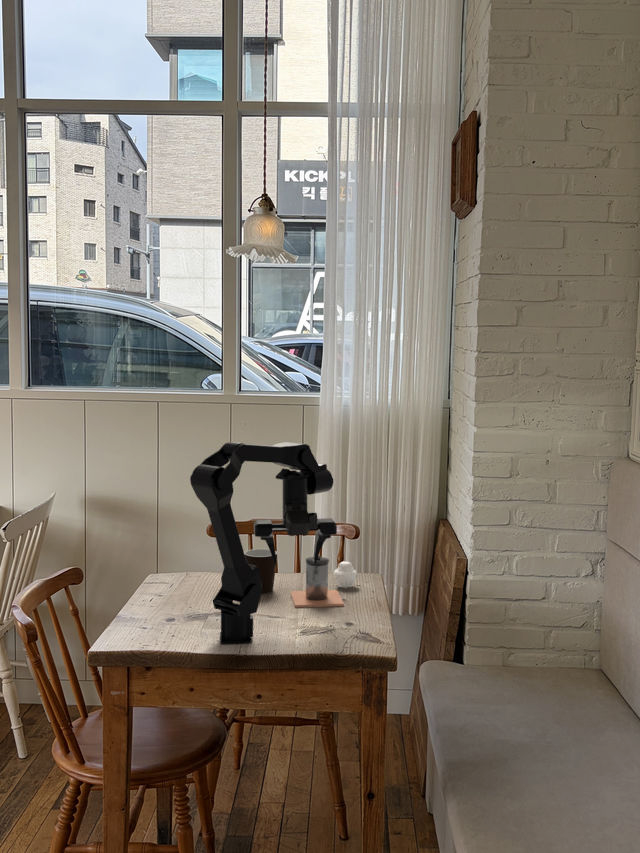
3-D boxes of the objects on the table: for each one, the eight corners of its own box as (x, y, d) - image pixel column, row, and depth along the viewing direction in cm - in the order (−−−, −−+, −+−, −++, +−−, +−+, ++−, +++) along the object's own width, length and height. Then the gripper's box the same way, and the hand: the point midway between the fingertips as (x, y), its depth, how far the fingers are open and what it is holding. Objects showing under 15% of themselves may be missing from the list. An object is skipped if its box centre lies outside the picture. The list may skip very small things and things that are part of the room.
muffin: (357, 584, 223) (357, 558, 223) (355, 590, 217) (356, 564, 217) (334, 583, 224) (334, 557, 223) (332, 589, 218) (332, 563, 217)
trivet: (295, 607, 202) (295, 605, 202) (290, 593, 214) (290, 591, 214) (343, 606, 203) (343, 603, 203) (336, 592, 215) (336, 590, 215)
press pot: (311, 601, 205) (312, 559, 204) (301, 595, 210) (301, 554, 209) (332, 598, 207) (333, 557, 206) (321, 593, 212) (322, 553, 212)
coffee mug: (272, 596, 211) (272, 557, 210) (239, 594, 213) (239, 555, 212) (283, 584, 223) (283, 547, 222) (252, 582, 224) (252, 545, 223)
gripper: (256, 504, 181) (256, 574, 183) (340, 502, 184) (340, 572, 185) (253, 495, 192) (253, 561, 194) (333, 494, 195) (333, 559, 196)
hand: (295, 564), depth 192 cm, fingers open, 9 cm apart
